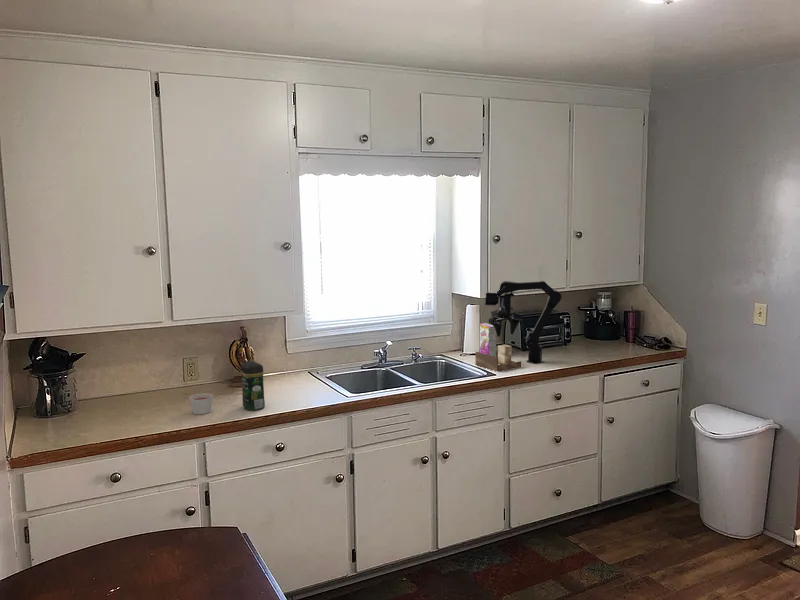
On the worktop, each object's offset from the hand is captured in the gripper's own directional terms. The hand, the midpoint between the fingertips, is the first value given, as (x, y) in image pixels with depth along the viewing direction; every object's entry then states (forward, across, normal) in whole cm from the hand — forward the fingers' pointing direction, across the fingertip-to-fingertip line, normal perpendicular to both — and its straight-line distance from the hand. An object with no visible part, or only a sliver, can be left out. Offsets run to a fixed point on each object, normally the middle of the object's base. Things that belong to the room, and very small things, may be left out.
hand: (505, 335), depth 331 cm
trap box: (+16, -3, -1) cm, 16 cm away
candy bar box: (+5, -25, +12) cm, 29 cm away
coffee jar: (+48, -17, -124) cm, 134 cm away
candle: (+51, -25, -142) cm, 153 cm away
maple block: (+13, -2, +2) cm, 13 cm away
